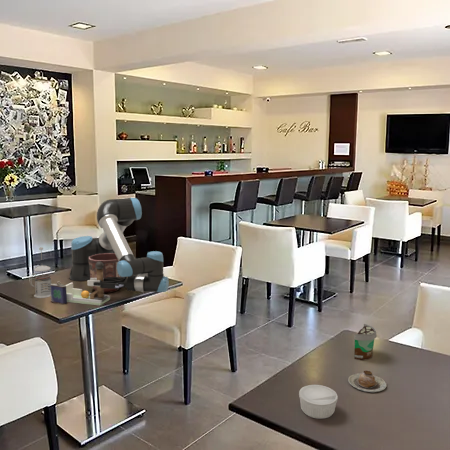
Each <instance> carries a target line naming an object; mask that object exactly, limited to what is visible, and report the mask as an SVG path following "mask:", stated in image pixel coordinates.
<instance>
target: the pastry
mask: <svg viewBox="0 0 450 450" xmlns="http://www.w3.org/2000/svg"><path fill="white" fill-rule="evenodd" d="M356 381H357V384H358V385H359V386H357V385H356ZM348 383H349V385H350V386H352V387H353V388H355V389H357V390H359V391H361V392H366V393H375V394H376V393H378V392H382V391H384V390H385V389H386V388H387V386H388V385H387V382H386V381H385V380H384V379H383V378H382V377H379V376H377V375H374V374H373V371H370V370H363V372H361V373H360V372H359V373H354V374H352V375H349V377H348ZM378 384H379V387H378V388H376V389H372V388H375V387H376V386H377V385H378Z"/></svg>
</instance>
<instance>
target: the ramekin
mask: <svg viewBox="0 0 450 450" xmlns="http://www.w3.org/2000/svg"><path fill="white" fill-rule="evenodd" d="M299 389H300V390H299V391H298V396H299V402H300V408H301V410H302V412H303V413H304V414H305V415H306V416H307V417H309V418H314V419H320V420H321V419H328V418H330V417H332V415H333V414H334V413H335V410H336V406H337V402H338V394H337V392H336V391H335V390H334V389H333V388H330V387H328V386H325V385H321V384H309V385H305V386H303V387H301V388H299Z"/></svg>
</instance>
